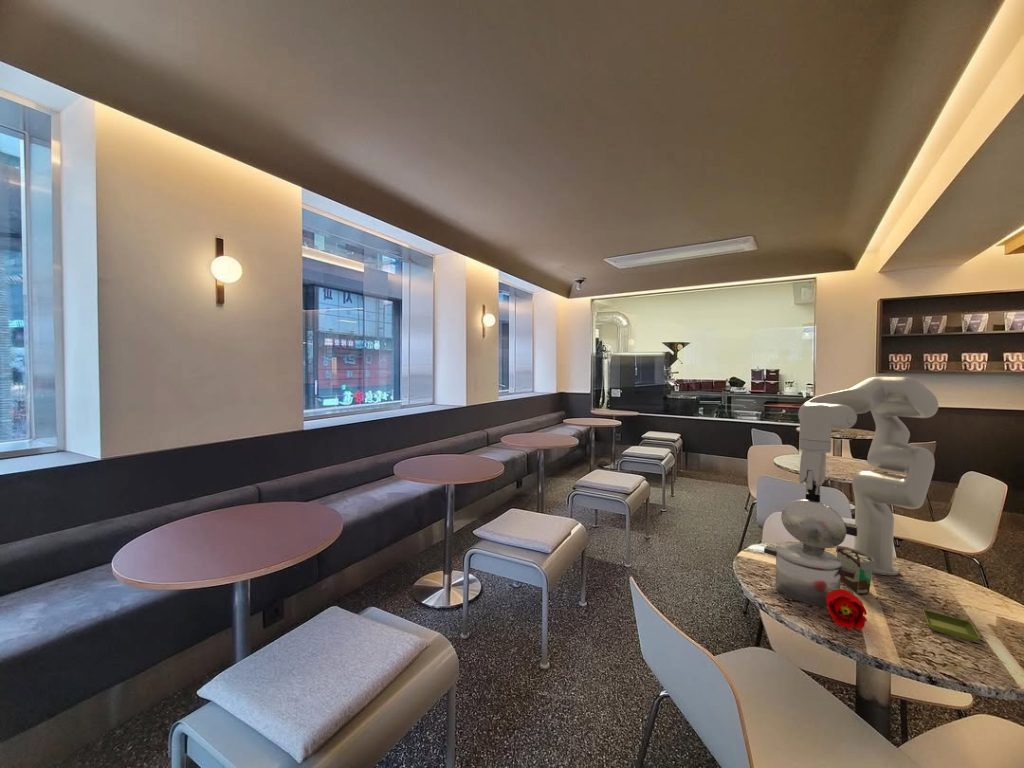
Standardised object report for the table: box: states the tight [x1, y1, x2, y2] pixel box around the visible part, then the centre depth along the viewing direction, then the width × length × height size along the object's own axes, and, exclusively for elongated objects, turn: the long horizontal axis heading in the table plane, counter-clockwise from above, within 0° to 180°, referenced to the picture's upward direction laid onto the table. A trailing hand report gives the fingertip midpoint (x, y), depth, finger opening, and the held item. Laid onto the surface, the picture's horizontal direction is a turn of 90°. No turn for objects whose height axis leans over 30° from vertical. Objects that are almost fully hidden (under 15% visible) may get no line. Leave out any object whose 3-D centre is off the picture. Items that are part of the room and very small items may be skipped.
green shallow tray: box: [921, 609, 981, 642], centre depth 99 cm, size 9×9×2 cm
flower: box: [826, 588, 868, 630], centre depth 102 cm, size 8×8×8 cm
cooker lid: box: [780, 498, 858, 551], centre depth 119 cm, size 16×18×3 cm
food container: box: [835, 545, 876, 596], centre depth 119 cm, size 12×6×10 cm, turn 168°
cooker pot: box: [763, 543, 856, 608], centre depth 116 cm, size 15×21×11 cm
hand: (812, 507), depth 119 cm, fingers closed
